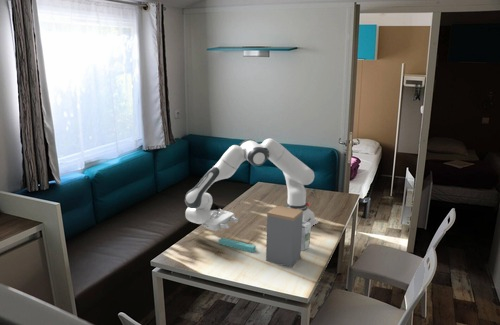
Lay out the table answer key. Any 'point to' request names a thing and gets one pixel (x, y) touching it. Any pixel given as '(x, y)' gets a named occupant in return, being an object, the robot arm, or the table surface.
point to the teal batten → (237, 244)
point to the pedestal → (284, 235)
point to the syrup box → (305, 235)
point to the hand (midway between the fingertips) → (233, 223)
